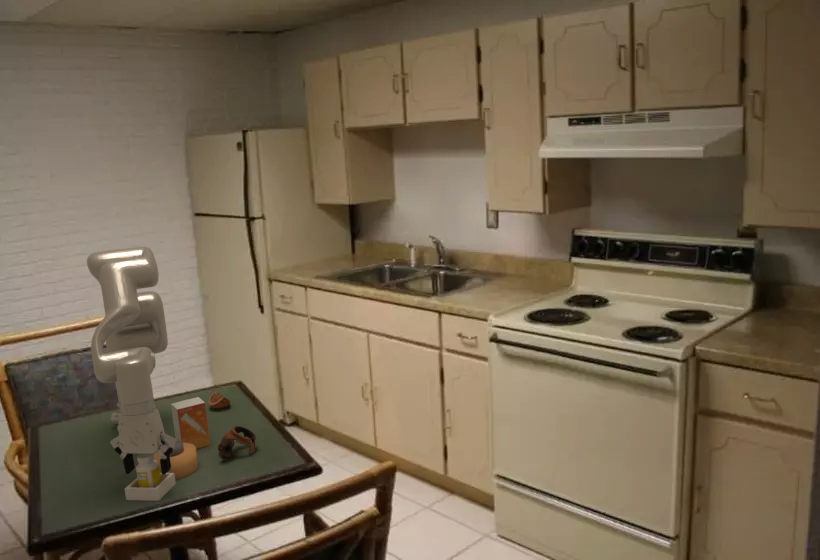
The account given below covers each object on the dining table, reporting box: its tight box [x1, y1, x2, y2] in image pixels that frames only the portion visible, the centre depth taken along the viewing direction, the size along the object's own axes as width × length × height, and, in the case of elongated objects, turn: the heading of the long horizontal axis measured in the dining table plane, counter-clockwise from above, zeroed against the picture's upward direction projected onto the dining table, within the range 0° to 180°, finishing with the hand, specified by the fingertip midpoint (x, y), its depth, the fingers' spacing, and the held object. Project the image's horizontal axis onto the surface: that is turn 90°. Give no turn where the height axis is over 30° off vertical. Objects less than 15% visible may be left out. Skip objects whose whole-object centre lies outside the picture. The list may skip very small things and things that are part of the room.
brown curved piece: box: [217, 425, 257, 459], centre depth 200 cm, size 12×10×8 cm
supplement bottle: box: [135, 454, 161, 488], centre depth 182 cm, size 5×5×10 cm
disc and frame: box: [124, 440, 199, 502], centre depth 188 cm, size 12×22×7 cm, turn 170°
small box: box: [170, 396, 211, 450], centre depth 207 cm, size 8×6×13 cm
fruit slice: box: [207, 390, 231, 409], centre depth 237 cm, size 8×7×5 cm
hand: (148, 471), depth 181 cm, fingers open, 9 cm apart
